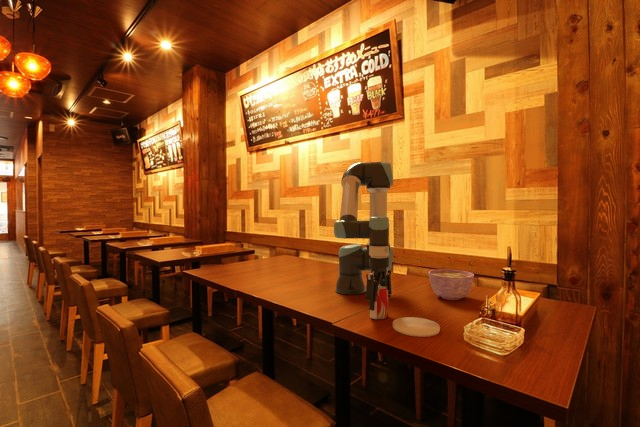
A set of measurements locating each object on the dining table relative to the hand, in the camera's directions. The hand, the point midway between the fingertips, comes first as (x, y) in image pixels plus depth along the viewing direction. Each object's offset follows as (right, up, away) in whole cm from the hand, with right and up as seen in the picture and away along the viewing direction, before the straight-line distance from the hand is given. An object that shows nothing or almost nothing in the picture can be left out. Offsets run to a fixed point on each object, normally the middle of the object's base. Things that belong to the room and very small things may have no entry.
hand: (379, 315), depth 131 cm
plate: (+11, -1, -12) cm, 16 cm away
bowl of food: (+38, 0, +27) cm, 47 cm away
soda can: (0, -1, 0) cm, 1 cm away
